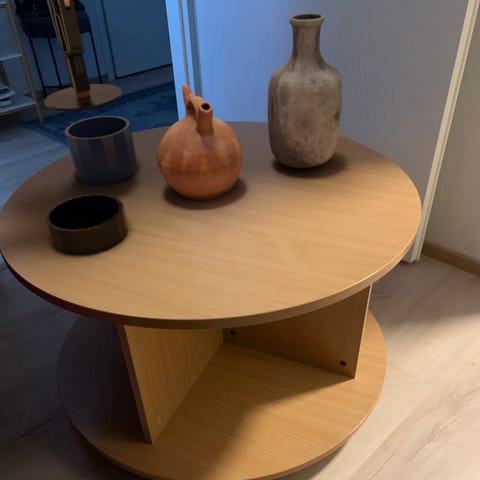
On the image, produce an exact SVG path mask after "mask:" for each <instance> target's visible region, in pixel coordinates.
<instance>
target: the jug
mask: <svg viewBox="0 0 480 480" xmlns="http://www.w3.org/2000/svg"><path fill="white" fill-rule="evenodd" d="M181 91H182V100H183V103H184V108H185V115H184V117H183V118H181V119H180V120H178V121H176V122H174V123H173V124H172V125H171V126H170V127H169V128H168V129H167V130H166V132H165V133H164V135H163V137H162V138H161V140H160V143H159V145H158V147H157V153H156V162H157V163H156V164H157V167H158V170H159V171H160V174H161V176H162V179H163V180H164V181H165V182H166V183H167V184H168V186H169V187H171V188H172V190H174V191H175V192H177V193H178V194H179V195H180V196H182V197H184V198H186V199H189V200H192V201H209V200H215V199H217V198H220V197H222V196H224V195H226V194H227V193H228V192H230V190H231V189H232V188H233V186H234V184H235V183H236V181H237V179H239V176H240V174H241V171H242V168H243V163H244V150H243V146H242V144H241V141H240V138H239V137H238V135H237V134H236V132H235V131H234V130H233V128H232V127H231V126H229V124H227V123H226V122H225V121H223V120H222V119H219V118H216V117H214V110H213V106H212V104H211V103H210V102H208V101H205V100H204V98H203V97H201V96H197V95H195V93H193V91H192V89H191V87H190V86H189V85H188V83H184V84H182V88H181Z"/></svg>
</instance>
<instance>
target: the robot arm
mask: <svg viewBox="0 0 480 480" xmlns="http://www.w3.org/2000/svg"><path fill="white" fill-rule="evenodd" d="M46 2H47V6H48V9H49V13H50V16H51V17H50V18H51V20H52V24H53V27H54V31H55V35H56V39H57V44H58V46H59V47H60V49H61V50H62V52H63V53H62V54H63V57H64V60H65V65H66V69H67V72H68V76H69V80H70V84H71V87H72V88H73V89H74V85H73V81H72V78H71V74H70V70H69V66H68V62H67V58H68V60H69V64H70V68H71V72H72V76H73V80H74V83H75V87H76V91H77V93H80V92H84V91H89V90H91V89H90V84H91V83H90V81H89V77H88V72H87V68H86V63H85V60H84V56H83V54H85V48H84V44H83V38H82V35H81V30H80V26H79V22H78V15H77V12H76V6H75V0H46ZM66 52H68V54H65V53H66Z"/></svg>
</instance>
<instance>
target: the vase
mask: <svg viewBox="0 0 480 480" xmlns="http://www.w3.org/2000/svg"><path fill="white" fill-rule="evenodd" d="M324 22H325V16H324V15H323V14H321V13H311V12H309V13H298V14H294V15H291V16H290V17H289V25H290V26H291V31H292V49H291V54H290V56H289V58H288V60H287V61H286V62H285V64H283V65H281V66H280V67H278V68H276V69H275V70H274V71H273V72H272V73H271V75H270V77H269V81H268V87H267V131H268V141H269V147H270V151H271V153H272V155H273V158H275V159H276V161H278V162H279V163H281V164H282V165H284V166H287V167H290V168H293V169H310V168H315V167H318V166H320V165H323V164H324V163H326V162H328V161H329V160H331V158H332V157H333V156H334V154H335V151H336V149H337V145H338V141H339V136H340V129H341V120H342V119H341V118H342V110H343V109H342V108H343V107H342V106H343V79H342V76H341V74H340V72H339V70H338V69H337V68H335V66H333V65H331V64H328V63H327V62H326V61H325V59H324V58H323V56H322V54H321V49H320V48H321V47H320V40H321V30H322V24H324Z"/></svg>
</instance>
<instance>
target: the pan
mask: <svg viewBox="0 0 480 480" xmlns="http://www.w3.org/2000/svg"><path fill="white" fill-rule="evenodd" d="M44 221H45V223H46V224H45V225H46V227H47V229H48V233H49V235H50V238H51V241H52V243H53V245H54V248H56V249H57V250H59V251H60V252H62V253H65V254H68V255H69V254H70V255H89V254H96V253H99V252H103V251H106V250H108V249H110V248H113V247H114V246H116V245H117V244H120V242H121V241H123V240H124V239H125V237H126V236H127V234H128V231H129V227H128V225H129V224H128V220H127V215H126V211H125V207H124V203H123V202H122V201H121V200H120V198H118V197H116V196H113V195H111V194H105V193H89V194H81V195H77V196H73V197H70V198H67V199H64V200H62V201H60V202H58V203H56V204H55V205H53V206H52V207H51V208H50V209H49V210H48V211H47V212H46V215H45V217H44Z"/></svg>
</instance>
